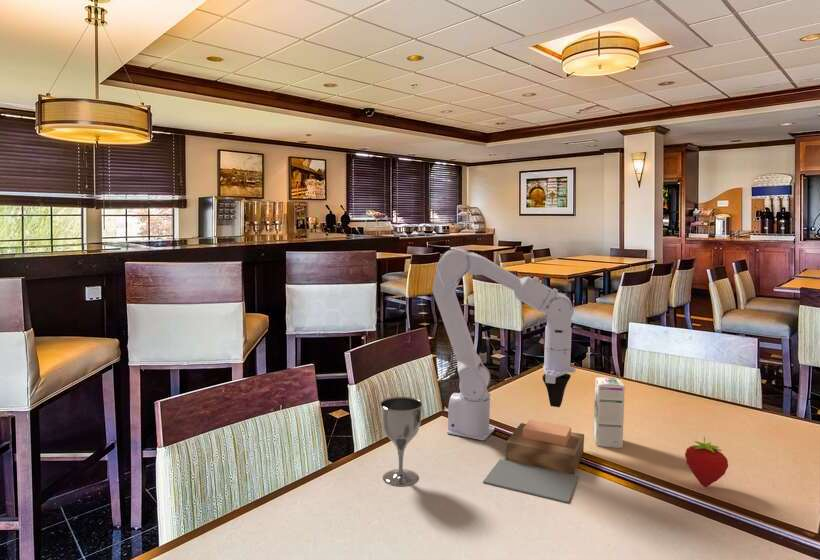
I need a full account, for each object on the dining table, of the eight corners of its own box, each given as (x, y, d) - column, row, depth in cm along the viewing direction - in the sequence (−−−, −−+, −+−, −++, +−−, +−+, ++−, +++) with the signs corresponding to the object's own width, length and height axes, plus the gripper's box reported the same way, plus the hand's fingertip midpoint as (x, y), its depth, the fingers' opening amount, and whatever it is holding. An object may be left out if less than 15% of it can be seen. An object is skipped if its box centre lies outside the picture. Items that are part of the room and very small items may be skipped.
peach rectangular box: (522, 437, 113) (523, 428, 113) (529, 427, 119) (529, 419, 119) (565, 445, 109) (566, 436, 109) (570, 435, 115) (571, 426, 115)
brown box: (505, 460, 111) (505, 442, 111) (520, 439, 122) (521, 423, 122) (573, 475, 105) (574, 455, 105) (583, 452, 116) (584, 434, 115)
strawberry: (716, 499, 96) (720, 446, 95) (676, 482, 103) (679, 432, 102) (732, 490, 100) (736, 439, 99) (693, 474, 106) (696, 426, 105)
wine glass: (391, 491, 98) (391, 413, 97) (373, 473, 105) (374, 400, 104) (428, 481, 102) (429, 406, 100) (409, 465, 109) (410, 394, 107)
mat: (483, 482, 102) (483, 481, 102) (500, 460, 111) (500, 458, 111) (568, 503, 95) (568, 501, 95) (578, 477, 104) (578, 475, 104)
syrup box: (623, 448, 118) (626, 385, 116) (595, 446, 119) (598, 383, 117) (618, 438, 123) (621, 378, 122) (591, 436, 125) (594, 376, 123)
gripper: (570, 356, 111) (567, 419, 112) (581, 343, 124) (579, 399, 125) (536, 352, 114) (534, 413, 116) (550, 339, 127) (548, 394, 129)
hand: (555, 405), depth 121 cm, fingers closed
